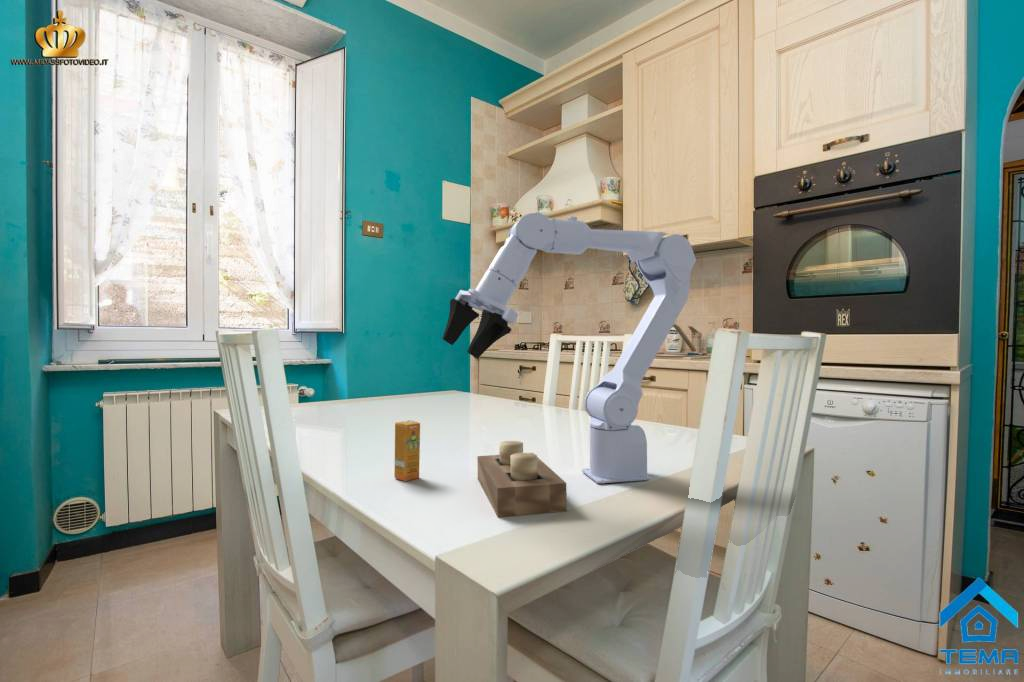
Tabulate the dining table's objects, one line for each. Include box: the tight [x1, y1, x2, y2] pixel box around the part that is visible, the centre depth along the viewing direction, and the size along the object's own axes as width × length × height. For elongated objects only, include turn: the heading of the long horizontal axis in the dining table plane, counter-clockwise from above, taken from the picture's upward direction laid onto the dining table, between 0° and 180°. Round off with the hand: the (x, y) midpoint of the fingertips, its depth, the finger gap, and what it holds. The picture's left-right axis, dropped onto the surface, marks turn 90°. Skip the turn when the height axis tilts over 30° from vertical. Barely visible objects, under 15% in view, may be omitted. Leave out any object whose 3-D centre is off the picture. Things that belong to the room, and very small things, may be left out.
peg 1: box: [498, 440, 524, 465], centre depth 84 cm, size 4×4×4 cm
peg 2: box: [510, 452, 538, 481], centre depth 75 cm, size 4×4×4 cm
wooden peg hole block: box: [477, 452, 568, 518], centre depth 80 cm, size 10×19×4 cm, turn 12°
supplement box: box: [394, 420, 421, 482], centre depth 89 cm, size 3×3×10 cm
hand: (459, 348), depth 82 cm, fingers open, 7 cm apart
